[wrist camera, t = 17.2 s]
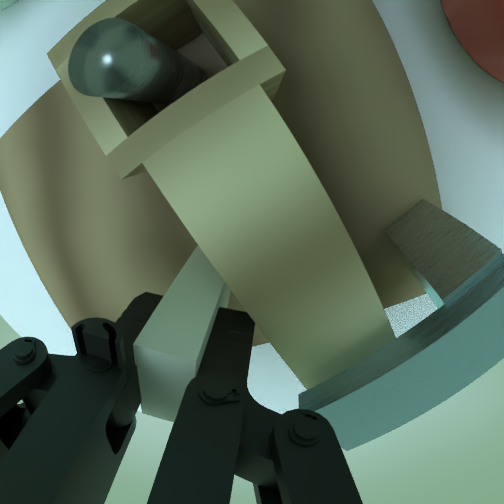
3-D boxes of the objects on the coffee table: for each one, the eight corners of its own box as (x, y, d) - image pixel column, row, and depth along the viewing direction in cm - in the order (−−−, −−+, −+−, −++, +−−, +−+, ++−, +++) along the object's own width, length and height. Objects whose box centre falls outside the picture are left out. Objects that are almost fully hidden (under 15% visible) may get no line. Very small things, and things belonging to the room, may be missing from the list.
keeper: (292, 295, 14) (295, 415, 8) (423, 197, 12) (521, 263, 5) (329, 336, 15) (346, 451, 9) (450, 249, 13) (533, 331, 6)
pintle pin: (197, 55, 11) (125, 2, 5) (215, 95, 11) (150, 67, 5) (156, 76, 11) (60, 49, 5) (172, 115, 12) (80, 111, 6)
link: (378, 290, 14) (422, 352, 9) (290, 338, 15) (302, 413, 10) (209, 10, 10) (185, -50, 5) (113, 76, 11) (46, 53, 6)
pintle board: (340, -36, 9) (344, -45, 8) (441, 275, 14) (449, 283, 13) (-2, 150, 14) (-12, 152, 13) (107, 363, 19) (102, 372, 18)
